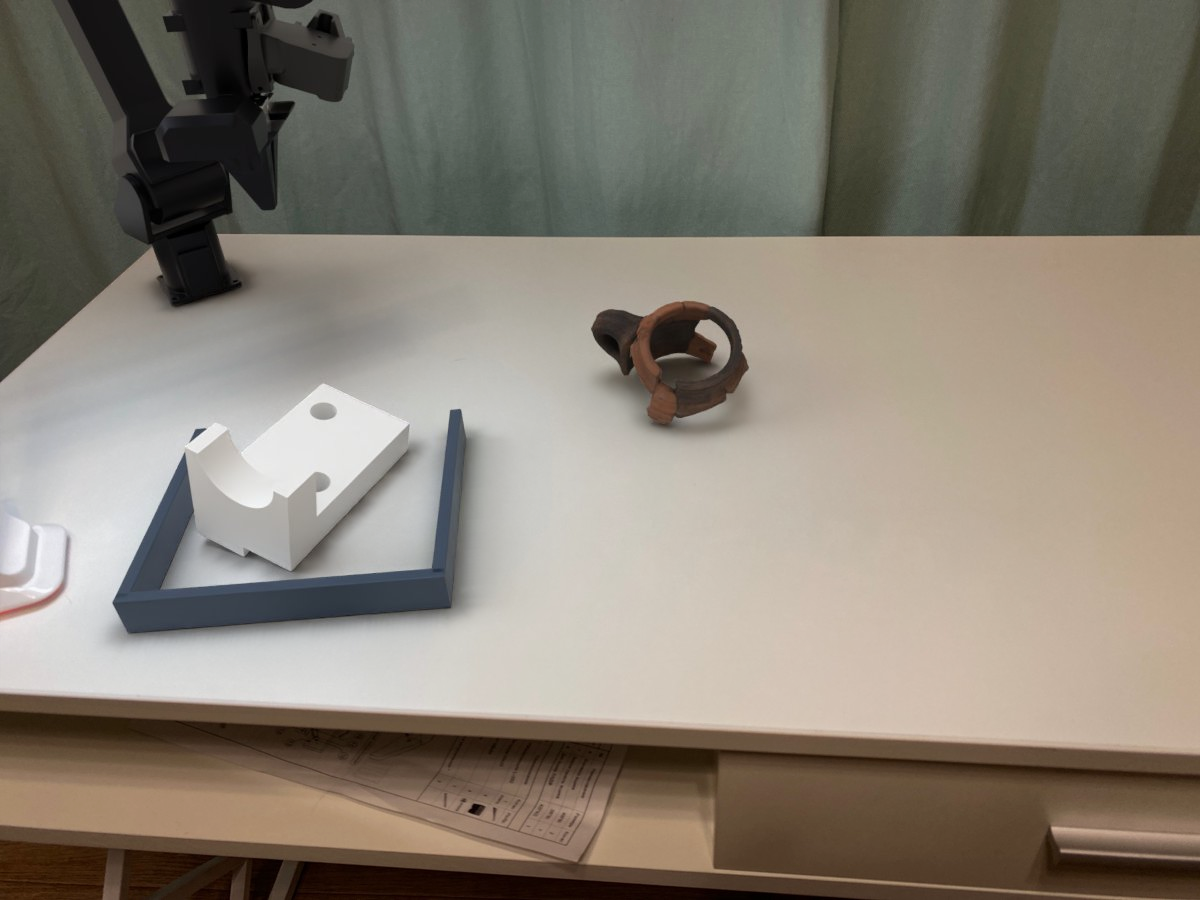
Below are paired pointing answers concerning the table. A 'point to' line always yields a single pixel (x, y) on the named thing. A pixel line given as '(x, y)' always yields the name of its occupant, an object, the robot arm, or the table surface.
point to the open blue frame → (284, 598)
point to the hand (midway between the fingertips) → (269, 208)
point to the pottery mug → (667, 335)
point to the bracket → (292, 475)
